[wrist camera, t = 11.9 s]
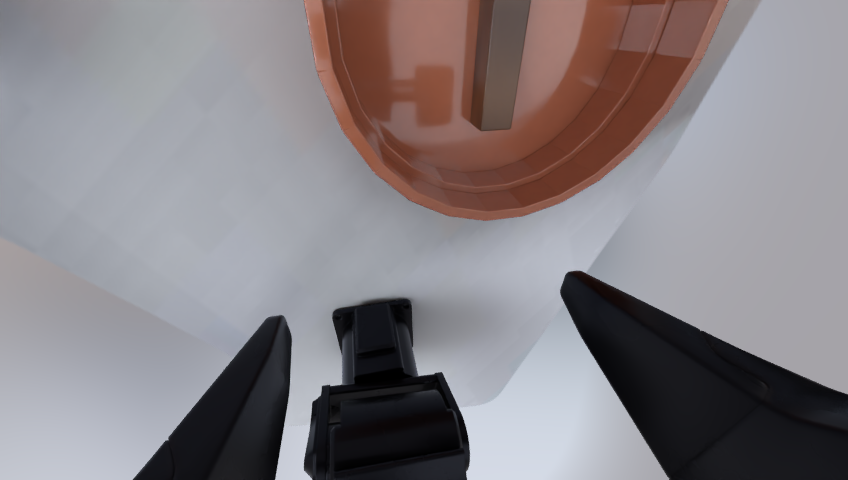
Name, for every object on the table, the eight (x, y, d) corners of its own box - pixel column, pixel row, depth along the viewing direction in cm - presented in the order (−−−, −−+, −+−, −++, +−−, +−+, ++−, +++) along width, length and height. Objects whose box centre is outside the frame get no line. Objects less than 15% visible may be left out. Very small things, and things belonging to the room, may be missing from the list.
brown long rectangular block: (498, 121, 18) (511, 129, 17) (469, 123, 18) (480, 131, 17) (526, -98, 13) (549, -112, 12) (487, -100, 13) (505, -115, 11)
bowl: (585, 170, 23) (637, 202, 19) (346, 193, 20) (346, 237, 16) (714, -229, 13) (886, -345, 9) (263, -301, 10) (207, -527, 6)
